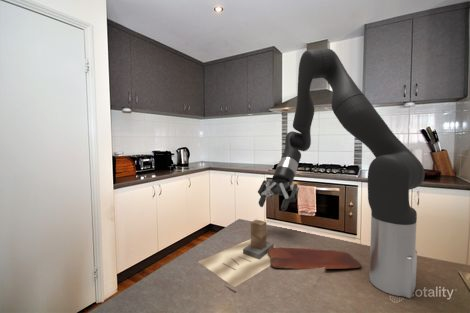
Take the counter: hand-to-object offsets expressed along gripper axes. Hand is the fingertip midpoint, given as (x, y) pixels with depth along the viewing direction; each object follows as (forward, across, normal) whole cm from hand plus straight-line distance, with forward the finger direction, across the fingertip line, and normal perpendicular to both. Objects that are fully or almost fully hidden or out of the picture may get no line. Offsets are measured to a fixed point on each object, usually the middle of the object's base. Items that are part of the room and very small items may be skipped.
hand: (271, 208), depth 79 cm
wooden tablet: (+11, +16, +7) cm, 20 cm away
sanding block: (+14, 0, +3) cm, 15 cm away
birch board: (+20, -1, 0) cm, 20 cm away
